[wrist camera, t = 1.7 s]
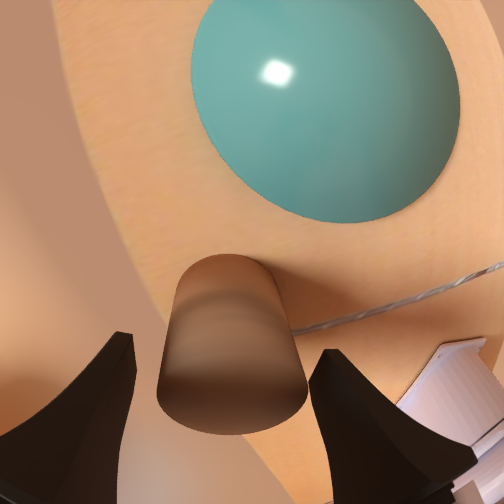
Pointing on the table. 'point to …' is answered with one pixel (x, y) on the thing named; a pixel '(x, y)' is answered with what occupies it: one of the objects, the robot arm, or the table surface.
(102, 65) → the table surface
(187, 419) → the walnut cylinder
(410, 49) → the teal rounded disc
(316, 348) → the table surface
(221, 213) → the table surface
